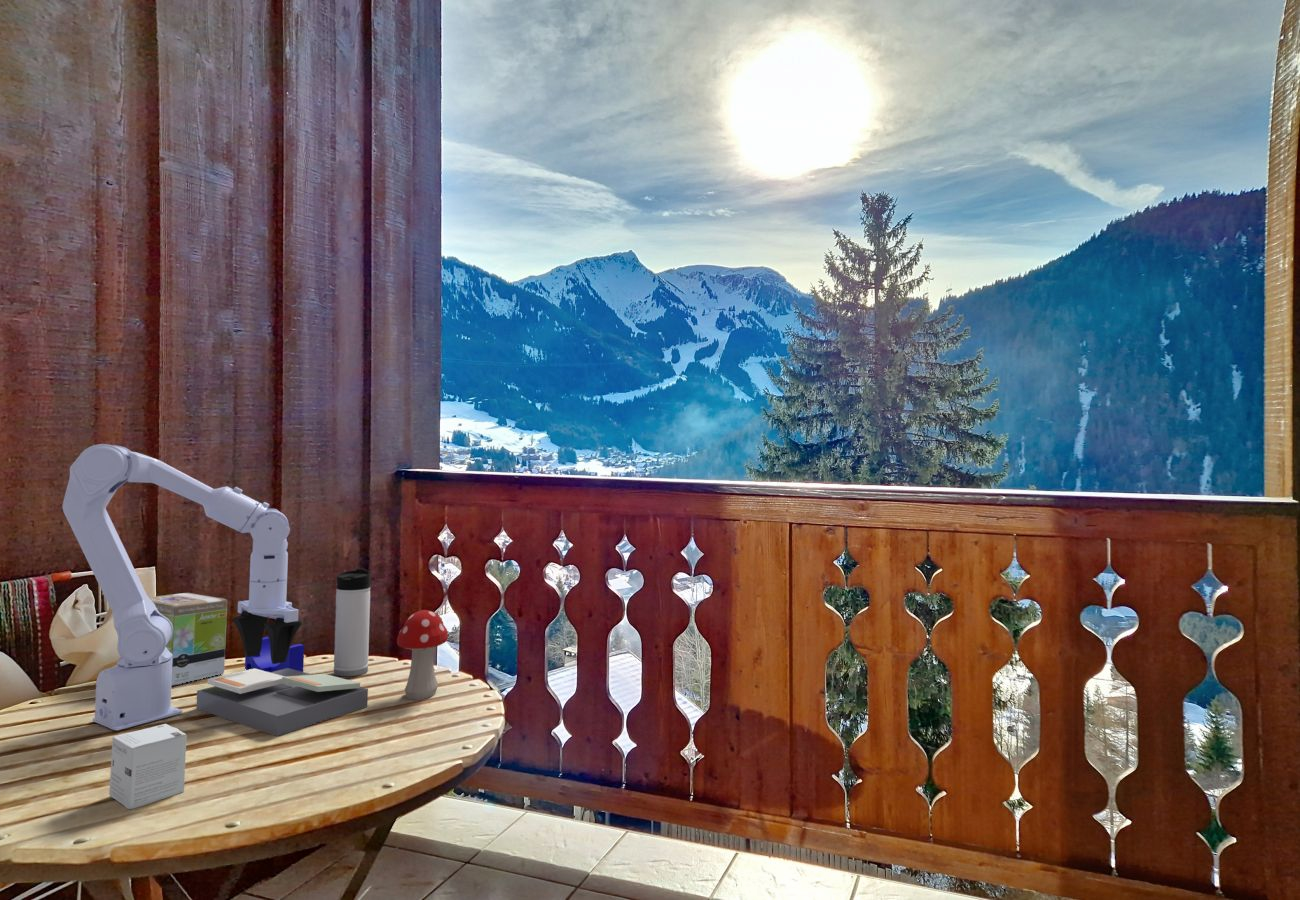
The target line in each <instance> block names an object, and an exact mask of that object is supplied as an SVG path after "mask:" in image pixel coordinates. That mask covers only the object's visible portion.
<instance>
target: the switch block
mask: <svg viewBox="0 0 1300 900" xmlns="http://www.w3.org/2000/svg"><path fill="white" fill-rule="evenodd" d="M270 673H274V674H278V675H281V676H285V677H288V676H302V675H314V674H311V673H308V672H306V671H305V672H304V671H303V672H301V671H297V670H293V669H289V668H286V669H282V670H278V671H274V672H270ZM368 695H369V689H368V688H366V687H362V686H360V688H353V689H343V690H332V691H321V692H316V691H313V690H309V689H305V688H302V687H298V686H295V685H291V684H287V683H282V684H278V685H274V686H270V687H266V688H262V689H258V690H254V691H250V692H246V693H242V694H239V693H236V692H233V691H229V690H226V689H223V688H219V687H216V686H213V685H212V686H208V687H206V688H202V689H197V690H196V704H195V705H196V707H195V708H196V710H199V711H201V712H202V711H203V712H205V713H208V714H211V715H212V716H216V717H220V718H222V719H225V720H229V721H231V722H235V723H237V724H239V725H240V724H241V725H243V726H246V727H249V728H252V729H255V730H257V731H260V732H264V733H267V734H269V735H271V736H272V735H273V736H275V737H280V736H282V734H283V735H286V734H289V733H292V732H295V731H298V730H300V728H301V729H304V728H307V727H309V725H310V726H313V725H315V724H314V723H316V724H318V723H317V722H319V723H321V722H320V721H322V722H324V721H323V720H325V721H327V720H326V719H328V720H330V719H329V718H331V719H334V718H337V717H340V716H343V715H346V714H349V713H352V712H355V711H359V710H361V709H365V708H367V707H368V705H369V704H368V703H369V702H368V700H369V698H368V697H369V696H368ZM333 717H334V718H333ZM312 724H313V725H312ZM306 726H307V727H306ZM297 729H298V730H297ZM285 733H286V734H285ZM279 735H280V736H279Z"/></svg>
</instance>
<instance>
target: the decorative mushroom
mask: <svg viewBox="0 0 1300 900" xmlns="http://www.w3.org/2000/svg"><path fill="white" fill-rule="evenodd" d="M400 629H401V628H400ZM448 639H449V631H448V629H447V627H446V626H445V624H444V623H443V621H442V619H441V617H440V616H439V615H438V613H435V612H434V611H433V610H428V609H422V610H419V611H416V612H414V613H412V614H411V615H410V616H409V617H408V619H407V620H406V621H405V623H404V625H403V627H402V629H401V630H400V631H399V632H398V634H397V637H396V645H397V646H398V647H400V648H403V649H406V650H411V661H410V669H409V675H408V680H407V682H406V685H405V688H404V692H405V695H406V698H407V699H408V698H409V700H412V699H413V701H414V699H420V700H424V698H425V699H428V697H429V698H431V697H433V696H435V695H436V693H437V690H438V686H439V683H438V679H437V678H436V673H435V667H434V666H435V665H434V648H437V647H438V646H441V645H443V644H445V643H447V642H448Z"/></svg>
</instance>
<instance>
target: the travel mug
mask: <svg viewBox="0 0 1300 900" xmlns="http://www.w3.org/2000/svg"><path fill="white" fill-rule="evenodd" d="M335 590H336V593H335V615H334V616H335V621H334V622H335V623H334V624H335V625H334V652H333V653H334V654H333V657H334V658H333V674H334V675H335V677H340V678H342V677H343V678H345V677H346V678H348V677H349V678H350V677H357V676H361V675H365V674H366V673H367V672H368V670H369V648H370V647H369V645H370V644H369V643H370V618H371V617H370V614H371V613H370V611H371V609H370V608H371V571H370V570H367V568H356V569H355V570H348V571H343V572H340V573H338V574H337V575H336V589H335Z"/></svg>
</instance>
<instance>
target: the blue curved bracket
mask: <svg viewBox="0 0 1300 900" xmlns="http://www.w3.org/2000/svg"><path fill="white" fill-rule="evenodd" d="M304 658H305V644H301V643H297V644H293V645H292V644H291V646H290V649H289V652H288V655H287V659H286V661H285V662H282V663H277V664H272V661H271V653H270V642H269V637H268V636H264V637H263V639H262V647H261V652H260V655H256V656H252V657H246V655H245V656H244V670H245V669H246V670H249V669H259V670H263V671H266V672H274V671H278V670H282V669H286V668H289V669H293V670H297V671H301V672H304V664H305V663H304V662H305V661H304Z"/></svg>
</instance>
